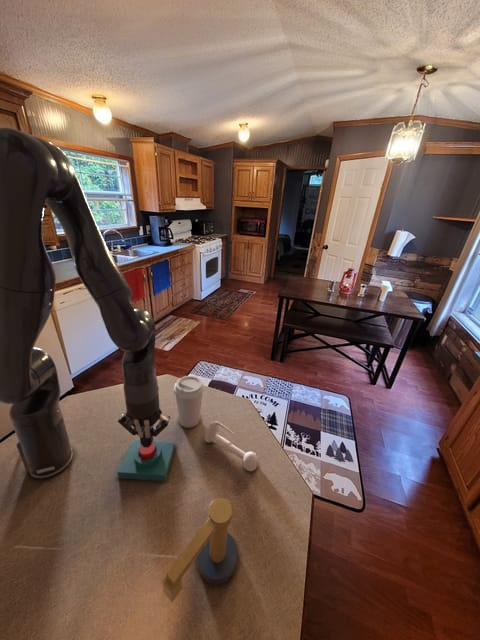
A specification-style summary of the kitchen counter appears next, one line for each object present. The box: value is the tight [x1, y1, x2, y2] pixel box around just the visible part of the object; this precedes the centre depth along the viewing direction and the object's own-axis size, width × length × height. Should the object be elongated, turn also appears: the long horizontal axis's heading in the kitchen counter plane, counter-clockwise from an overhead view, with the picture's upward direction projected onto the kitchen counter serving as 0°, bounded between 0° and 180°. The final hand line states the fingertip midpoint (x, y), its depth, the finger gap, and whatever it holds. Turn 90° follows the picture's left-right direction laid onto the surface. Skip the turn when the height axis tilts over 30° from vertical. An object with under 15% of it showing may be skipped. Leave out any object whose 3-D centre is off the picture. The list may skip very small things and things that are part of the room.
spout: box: [161, 497, 233, 604], centre depth 42 cm, size 14×4×5 cm, turn 143°
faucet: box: [203, 420, 259, 472], centre depth 73 cm, size 4×18×10 cm, turn 56°
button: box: [139, 443, 156, 459], centre depth 68 cm, size 4×4×2 cm
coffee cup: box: [173, 375, 205, 429], centre depth 81 cm, size 10×10×15 cm
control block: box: [117, 439, 176, 482], centre depth 69 cm, size 12×10×4 cm
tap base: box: [196, 527, 238, 586], centre depth 49 cm, size 8×8×13 cm
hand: (147, 444), depth 67 cm, fingers closed
